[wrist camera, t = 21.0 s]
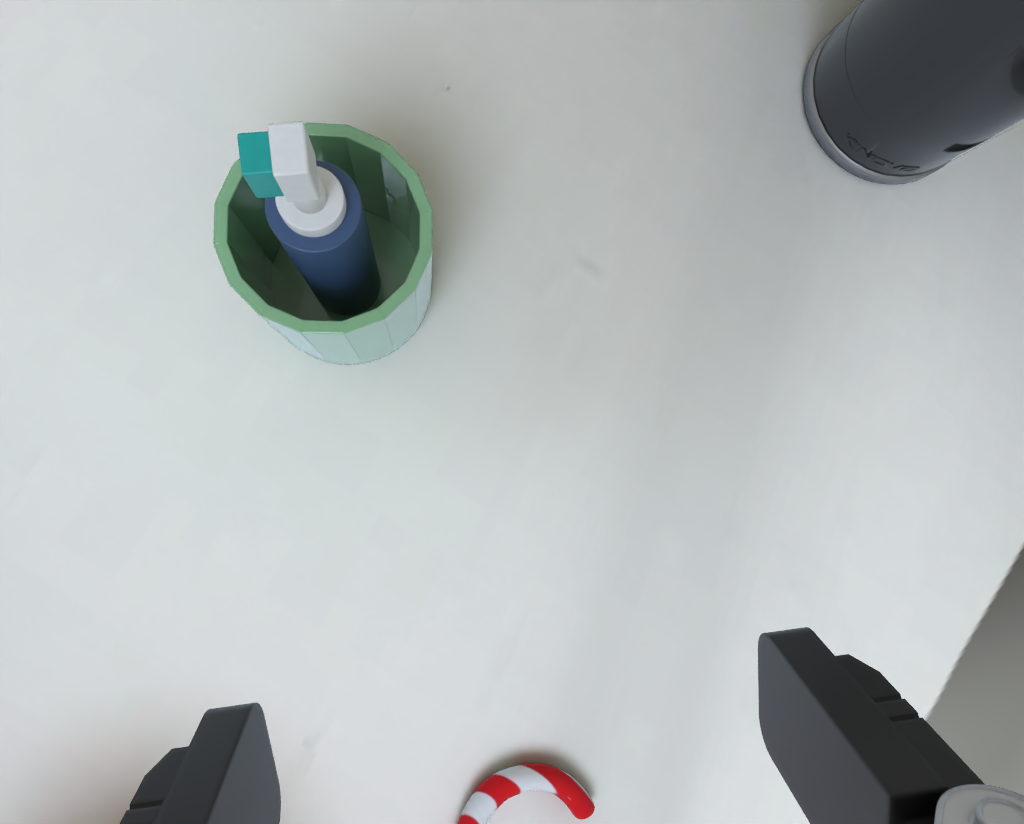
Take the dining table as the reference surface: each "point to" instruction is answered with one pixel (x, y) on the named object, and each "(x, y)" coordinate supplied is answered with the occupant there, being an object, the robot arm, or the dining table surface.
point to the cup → (395, 239)
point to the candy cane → (524, 781)
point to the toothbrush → (313, 216)
